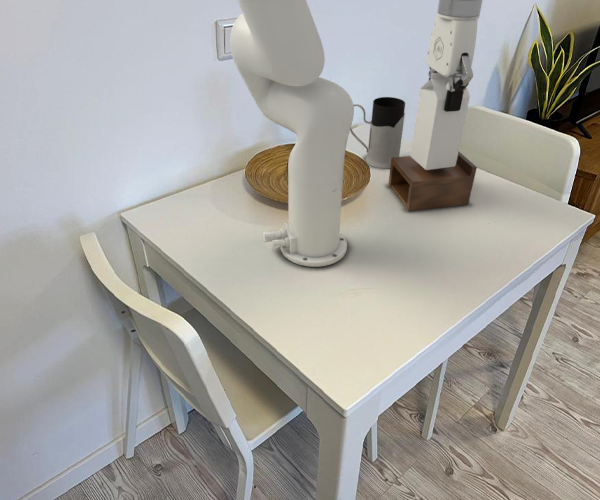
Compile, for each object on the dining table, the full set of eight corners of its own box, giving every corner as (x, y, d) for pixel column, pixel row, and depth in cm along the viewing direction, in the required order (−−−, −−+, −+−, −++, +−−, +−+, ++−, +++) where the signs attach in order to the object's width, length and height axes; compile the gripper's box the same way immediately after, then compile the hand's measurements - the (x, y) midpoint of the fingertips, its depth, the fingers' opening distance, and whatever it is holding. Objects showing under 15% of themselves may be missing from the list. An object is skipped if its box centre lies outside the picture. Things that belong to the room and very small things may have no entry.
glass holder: (398, 170, 125) (406, 110, 116) (341, 163, 127) (344, 104, 119) (401, 155, 132) (409, 97, 123) (347, 149, 134) (350, 92, 126)
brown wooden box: (408, 211, 109) (414, 173, 103) (388, 185, 118) (392, 149, 113) (468, 204, 111) (477, 167, 106) (443, 179, 121) (450, 144, 116)
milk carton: (409, 157, 112) (423, 68, 101) (438, 153, 114) (454, 65, 103) (425, 171, 106) (441, 78, 95) (455, 167, 108) (474, 76, 97)
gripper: (420, 0, 99) (408, 91, 109) (463, 18, 85) (444, 120, 95) (456, -1, 100) (440, 89, 110) (503, 16, 86) (481, 117, 96)
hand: (442, 103), depth 103 cm, fingers closed on milk carton, 7 cm apart
